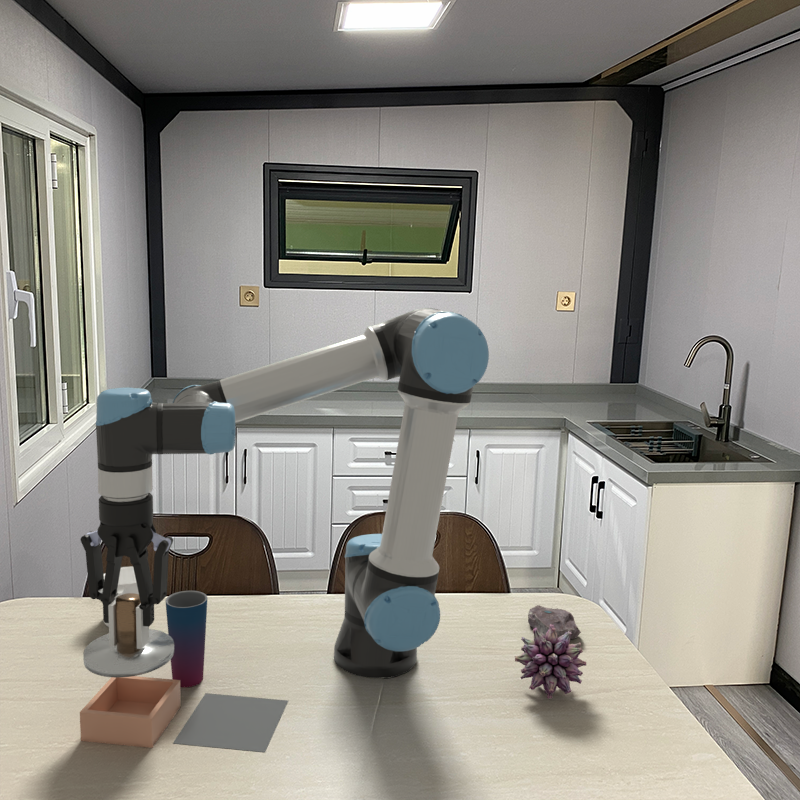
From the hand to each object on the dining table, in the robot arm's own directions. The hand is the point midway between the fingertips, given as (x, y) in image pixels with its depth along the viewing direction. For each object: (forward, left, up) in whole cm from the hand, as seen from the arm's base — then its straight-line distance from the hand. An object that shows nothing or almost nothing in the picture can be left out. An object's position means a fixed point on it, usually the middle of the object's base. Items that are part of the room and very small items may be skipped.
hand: (129, 643), depth 120 cm
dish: (0, 0, -14) cm, 14 cm away
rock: (-68, -43, -14) cm, 82 cm away
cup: (-4, -14, -14) cm, 20 cm away
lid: (0, 0, -2) cm, 2 cm away
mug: (+17, -33, -14) cm, 39 cm away
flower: (-65, -20, -14) cm, 69 cm away
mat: (-15, -3, -14) cm, 21 cm away
